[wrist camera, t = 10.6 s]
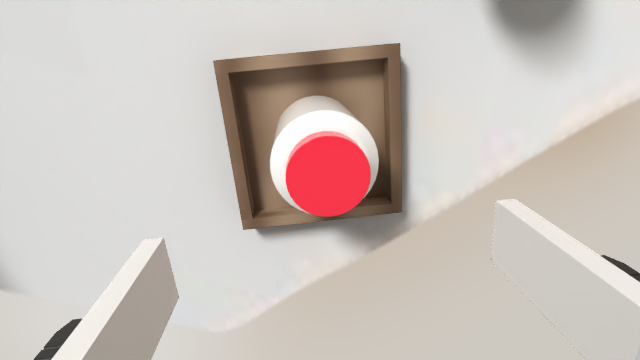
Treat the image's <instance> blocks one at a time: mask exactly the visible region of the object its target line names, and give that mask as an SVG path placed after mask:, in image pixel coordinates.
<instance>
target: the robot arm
mask: <svg viewBox="0 0 640 360" xmlns="http://www.w3.org/2000/svg"><path fill="white" fill-rule="evenodd" d="M491 261H492V262H493V263H494V264H495V265H496V266H497V267H498V268H499V269H500V270H501V272H502V273H503V274H504V275H505V276H506V277H507V278H508V279H509V280H510V281H511V282H512V283H513V284H514V285H515V286H516V287H517V288H518V289H519V290H520V291H521V293H523V295H524V296H525V297H526V298H527V299H528V300H529V301H530V302H531V303H532V304H533V305H534V306H535V307H536V308H537V309H538V310H539V311H540V312H541V314H542V315H543V316H544V317H545V318H546V319H547V320H548V321H549V322H550V323H551V324H552V325H553V326H554V327H555V328H556V329H557V330H558V331H559V332H560V333H561V334H562V336H564V338H565V339H566V340H567V341H568V342H569V343H570V344H571V345H572V346H573V347H574V348H575V349H576V350H577V351H578V352H579V353H580V355H582V357H583V358H584V359H585V360H640V273H638V272H637V271H635V270H634V269H632V268H630V267H629V266H627V265H626V264H624V263H622V262H620V261H617V260H615V259H612V258H610V257H607V256H605V255H602V256H600V255H598V254H597V253H595V252H594V251H592V250H591V249H589V248H588V247H586V246H585V245H583V244H581V243H580V242H579V241H577V240H576V239H574V238H573V237H571V236H570V235H568V234H566V233H565V232H564V231H562V230H560V229H559V228H558V227H556V226H555V225H553V224H552V223H550V222H549V221H547V220H545V219H544V218H543V217H541V216H539V215H538V214H537V213H535V212H533V211H532V210H531V209H529V208H528V207H526V206H525V205H523V204H522V203H520V202H518V201H517V200H516V199H507V200H498V201H496V205H495V217H494V230H493V240H492V252H491ZM178 298H179V295H178V291H177V288H176V284H175V280H174V276H173V272H172V268H171V265H170V261H169V257H168V253H167V249H166V245H165V241H164V238H156V239H147V240H143V241H142V242H141V243H140V245H139V246H138V247H137V249H136V250H135V251H134V253H133V254H132V255H131V257H130V258H129V259H128V260H127V262H126V263H125V264H124V266H123V267H122V268H121V270H120V271H119V272H118V273H117V275H116V276H115V277H114V279H113V280H112V281H111V283H110V284H109V285H108V286H107V288H106V289H105V290H104V292H103V293H102V294H101V296H100V297H99V298H98V299H97V301H96V302H95V303H94V305H93V306H92V307H91V309H90V310H89V311H88V313H87V314H86V315H85V317H84V318H83V319H75V320H72V321H70V323H68V324H67V325H65V326H64V327H63V328H61V329H60V330H59V331H57V332H56V333H55V334H54V336H53V337H52V338H51V339H50V340H49V342H48V343H47V344H46V345H45V346H44V350H41V352H40V353H39V354H38V355H37V356H36V357H35V359H34V360H151V358H152V356H153V354H154V352H155V349H156V347H157V345H158V343H159V341H160V338H161V336H162V334H163V332H164V329H165V327H166V325H167V323H168V320H169V318H170V316H171V314H172V312H173V309H174V307H175V305H176V303H177V300H178Z"/></svg>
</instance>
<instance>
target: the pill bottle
mask: <svg viewBox="0 0 640 360" xmlns="http://www.w3.org/2000/svg"><path fill="white" fill-rule="evenodd" d="M378 165H379V157H378V150H377V147H376V144H375V141H374V139H373V137H372V136H371V134H370V132H369V131H368V130H367V129H366V127H365V126H364V125H363V124H362V123H361V122H360V121H359V120H358V119H357V118H356V117H355V116H354V115H353V114H352V112H351V111H350V110H349V109H348V108H347V107H346V106H345V105H343V104H342V103H341V102H339V101H337V100H335V99H333V98H331V97H326V96H309V97H304V98H302V99H299V100H297V101H296V102H294V103H293V104H291V105H290V106H289V107H288V108H287V109H286V110H285V111H284V112H283V114H282V115H281V117H280V118H279V120H278V123H277V125H276V130H275V135H274V140H273V145H272V151H271V156H270V172H271V176H272V180H273V183H274V185H275V187H276V189H277V191H278V192H279V193H280V195H281V196H282V197H283V198H284V199H285V200H286V201H287V202H288V203H289V204H290V205H292V206H293V207H295V208H297V209H298V210H300V211H303V212H306V213H309V214H313V215H316V216H322V217H332V216H337V215H341V214H343V213H346V212H348V211H350V210H351V209H353V208H354V207H355V206H357V205H358V204H359V203H360V202H361V200H362V199H363V198H364V197H365V196H366V195H367V194H368V192H369V191H370V190H371V188H372V186H373V184H374V182H375V180H376V176H377V173H378Z"/></svg>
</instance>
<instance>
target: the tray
mask: <svg viewBox="0 0 640 360" xmlns="http://www.w3.org/2000/svg"><path fill="white" fill-rule="evenodd" d="M213 63H214V68H215V74H216V79H217V85H218V91H219V96H220V102H221V107H222V113H223V119H224V124H225V130H226V136H227V141H228V147H229V152H230V158H231V164H232V169H233V175H234V180H235V186H236V192H237V197H238V203H239V208H240V214H241V220H242V225H243V230H246V229H255V228H264V227H273V226H282V225H291V224H300V223H309V222H317V221H326V220H335V219H344V218H353V217H362V216H371V215H380V214H389V213H398V212H402V148H401V68H400V43H396V44H384V45H373V46H363V47H352V48H341V49H331V50H320V51H310V52H299V53H288V54H278V55H267V56H256V57H246V58H235V59H224V60H216V61H213ZM309 96H326V97H331V98H333V99H335V100H337V101H339V102H341V103H342V104H343V105H345V106H346V107H347V108H348V109H349V110H350V111H351V112H352V114H353V115H354V116H355V117H356V118H357V119H358V120H359V121H360V122H361V123H362V124H363V125H364V126H365V127H366V129H367V130H368V131H369V132H370V134H371V136H372V137H373V139H374V141H375V144H376V147H377V150H378V157H379V165H378V173H377V176H376V180H375V182H374V184H373V186H372V188H371V190H370V191H369V192H368V194H367V195H366V196H365V197H364V198H363V199H362V200H361V202H360V203H359V204H358V205H357V206H355V207H354V208H353V209H351V210H350V211H348V212H346V213H343V214H341V215H337V216H332V217H322V216H316V215H313V214H309V213H306V212H303V211H300V210H298V209H297V208H295V207H293V206H292V205H290V204H289V203H288V202H287V201H286V200H285V199H284V198H283V197H282V196H281V195H280V193H279V192H278V191H277V189H276V187H275V185H274V183H273V180H272V176H271V172H270V156H271V151H272V145H273V140H274V135H275V130H276V125H277V123H278V120H279V118H280V117H281V115H282V114H283V112H284V111H285V110H286V109H287V108H288V107H289V106H290V105H291V104H293V103H294V102H296V101H297V100H299V99H302V98H304V97H309Z"/></svg>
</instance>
